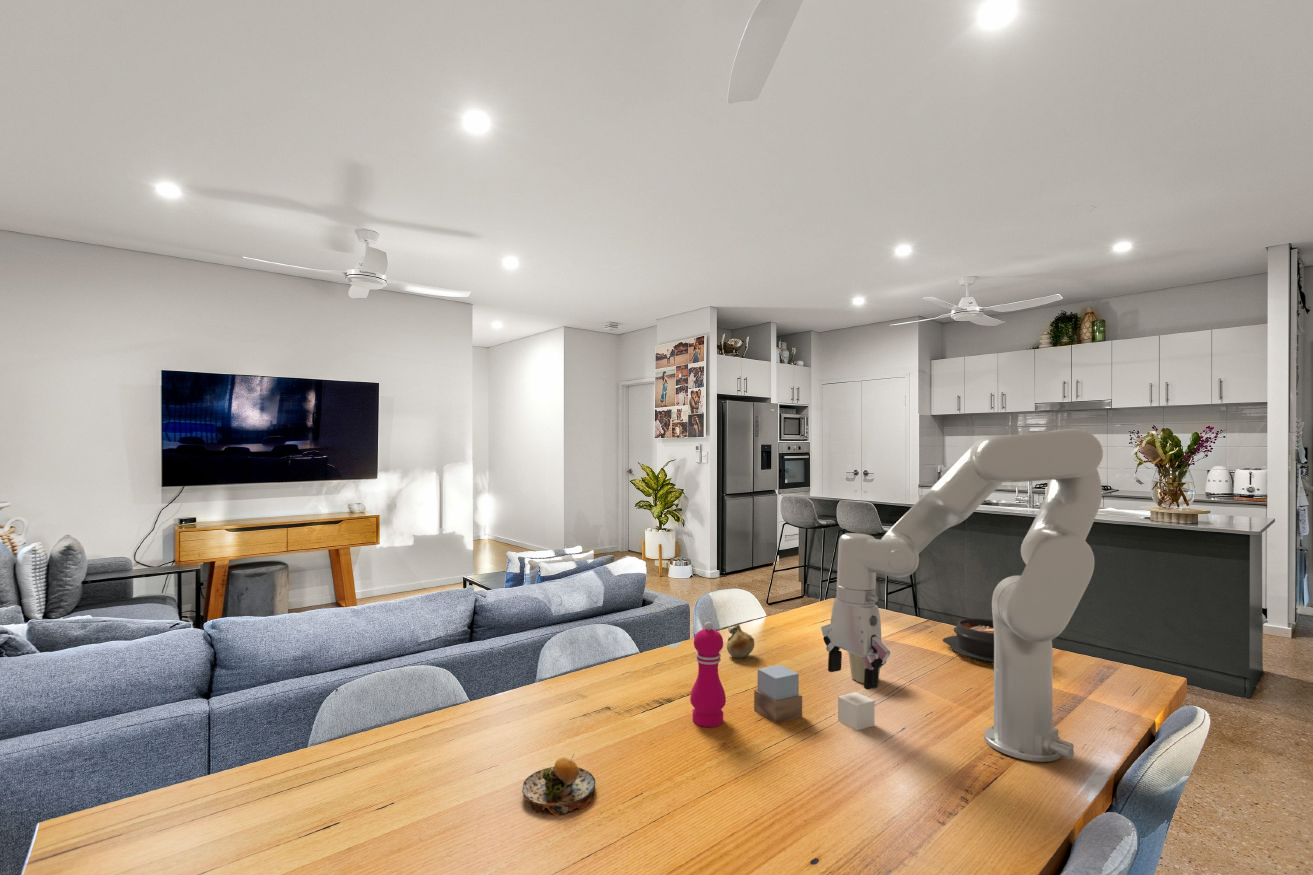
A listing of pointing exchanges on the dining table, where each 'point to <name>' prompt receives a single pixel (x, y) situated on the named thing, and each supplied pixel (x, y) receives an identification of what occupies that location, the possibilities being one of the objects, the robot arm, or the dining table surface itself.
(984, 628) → the casserole
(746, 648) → the onion
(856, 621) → the robot arm
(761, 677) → the slate block
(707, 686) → the pepper mill
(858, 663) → the flower pot
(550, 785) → the small plate of food
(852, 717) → the cream block
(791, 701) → the walnut block
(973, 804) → the dining table surface
